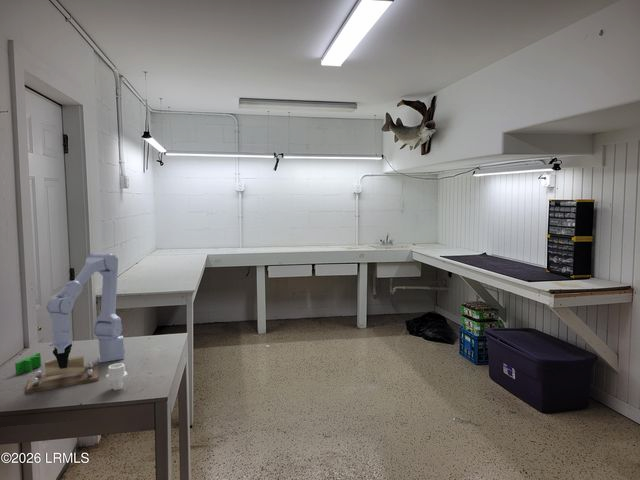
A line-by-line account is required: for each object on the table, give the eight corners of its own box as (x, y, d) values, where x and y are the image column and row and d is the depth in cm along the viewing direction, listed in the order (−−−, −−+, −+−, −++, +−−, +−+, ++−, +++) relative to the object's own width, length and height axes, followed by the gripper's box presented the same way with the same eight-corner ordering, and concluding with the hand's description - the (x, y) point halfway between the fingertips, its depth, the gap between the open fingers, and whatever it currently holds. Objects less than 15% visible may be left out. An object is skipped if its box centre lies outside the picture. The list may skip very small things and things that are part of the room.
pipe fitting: (124, 391, 149) (123, 368, 148) (103, 392, 149) (101, 369, 148) (131, 383, 155) (130, 361, 155) (110, 384, 155) (109, 362, 154)
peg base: (98, 369, 169) (98, 359, 169) (98, 380, 158) (97, 370, 158) (31, 380, 159) (30, 370, 159) (26, 392, 148) (25, 382, 148)
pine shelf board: (46, 374, 157) (45, 360, 157) (84, 368, 162) (83, 355, 162) (45, 377, 155) (44, 363, 154) (83, 371, 160) (83, 358, 160)
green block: (25, 375, 164) (24, 363, 164) (16, 375, 165) (14, 363, 164) (46, 364, 175) (46, 353, 175) (38, 363, 176) (37, 352, 175)
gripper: (50, 326, 162) (52, 361, 163) (46, 337, 149) (48, 375, 150) (72, 323, 165) (74, 358, 166) (69, 334, 152) (72, 371, 153)
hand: (63, 366), depth 158 cm, fingers closed on pine shelf board, 3 cm apart
